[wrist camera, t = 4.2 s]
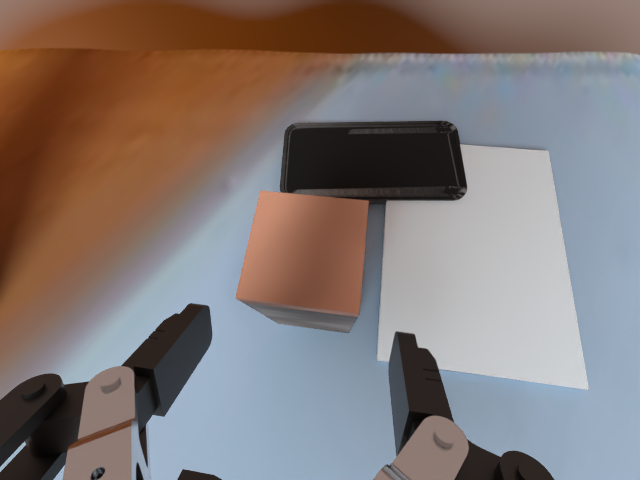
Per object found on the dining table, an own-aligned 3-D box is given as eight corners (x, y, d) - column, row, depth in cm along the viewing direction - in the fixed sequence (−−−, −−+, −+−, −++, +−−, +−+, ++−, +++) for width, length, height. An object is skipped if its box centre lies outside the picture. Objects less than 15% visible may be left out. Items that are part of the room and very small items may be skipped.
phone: (469, 199, 23) (278, 198, 24) (463, 205, 24) (281, 205, 25) (455, 119, 26) (285, 122, 27) (451, 128, 27) (287, 130, 28)
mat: (376, 360, 20) (377, 360, 20) (389, 143, 27) (390, 139, 26) (582, 389, 19) (589, 389, 19) (544, 154, 25) (548, 151, 25)
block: (278, 323, 21) (235, 298, 12) (290, 257, 23) (260, 190, 14) (348, 333, 21) (359, 313, 12) (355, 264, 23) (368, 200, 13)
